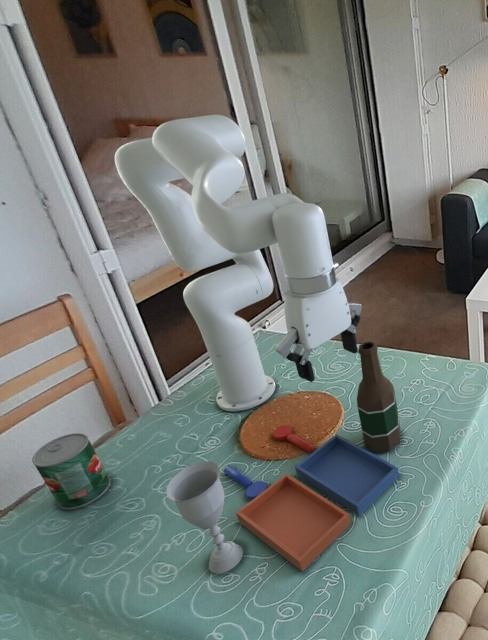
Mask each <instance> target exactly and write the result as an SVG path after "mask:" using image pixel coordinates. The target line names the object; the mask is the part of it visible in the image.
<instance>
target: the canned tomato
mask: <svg viewBox="0 0 488 640" xmlns="http://www.w3.org/2000/svg"><path fill="white" fill-rule="evenodd" d="M31 462H32V464H33V465H34V466H35V468H36V471H38V473H39V475H40V477H41V478H42V480H43V481H44V484H45V485H46V487H47V488H48V490H49V491H50V493H51V494H52V496H53V498H54V499H55V501H56V502H57V504H58V505H57V506H59V508H61V509H63V510H76V509H80V508H83V507H85V506H88V505H90V504H92V503H93V502H96V501H97V500H98V499H99V498H101V497H102V496H103V495H104V494H105V493H106V492H107V491H108V489H109V488H110V486H111V478H110V476H109V475H108V473H107V471H106V470H105V467H104V465H103V464H102V462H101V460H100V458H99V456H98V455H97V453H96V451H95V448H94V446H93V445H92V443H91V441H90V439H89V436H88V435H87V434H85V433H82V432H81V433H80V432H75V433H68V434H64V435H61V436H59V437H57V438H54V439H52V440H50V441H48V442H46V443H45V444H44V445H42V446H41V447H40V448H39V449H37V450H36V451H35V453H34V454H33V455H32V459H31Z"/></svg>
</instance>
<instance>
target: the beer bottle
mask: <svg viewBox="0 0 488 640" xmlns="http://www.w3.org/2000/svg"><path fill="white" fill-rule="evenodd" d="M378 347H379V346H378V345H377V343H376V342H374V341H364V342H362V343H361V344H359V346H358V352H357V353H358V355H359V357H360V365H361V374H362V375H361V376H362V379H361V381H360V382H359V384H358V389H357V395H356V406H357V411H358V416H359V422H360V426H361V433H362V437H363V441H364V445H365V448H367V449H368V450H370V451H372V452H373V453H375V454H380V453H386V452H390V451H392V450H393V449H394V448H396V446H398V445H399V444H400V443H401V424H400V418H399V411H398V410H399V409H398V405H397V404H398V403H397V398H396V391H395V387H394V385H393V383H392V382H391V380H390V379H389V378H387V377H386V376H385V375H384V373H383V370H382V367H381V362H380V358H379V354H378V349H379V348H378Z"/></svg>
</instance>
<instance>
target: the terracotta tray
mask: <svg viewBox="0 0 488 640" xmlns="http://www.w3.org/2000/svg"><path fill="white" fill-rule="evenodd" d="M267 487H268V488H267V489H266V490H265V491H263V492H262V493H261V494H259V495H258V496H257V497H256V498H254V499H253V500H249V502H247V504H245V505H244V506H243V507H242V508H240V509H238V510H237V511H236V512H235V515H236V517H237V520H238V523H239V524H240V525H242V526H244V527H245V528H246V529H247V530H249V532H251V533H252V534H253V535H255V536H256V537H257V538H259V539H260V540H261V541H262V542H264V543H265V544H266V545H268V546H269V547H270V548H271V549H273V550H274V551H275V552H277V553H278V554H279V555H280V556H282V557H283V558H285V559H286V560H287V561H288V562H289V563H291V564H292V565H293V566H295V567H296V568H297V569H299V570H300V571H301V572H304V571H305V570H307V568H308V567H309V566H310V565H311V564H312V563H313V562H314V561H315V560H316V559H318V557H319V556H320V555H321V554H322V553H323V552H324V551H326V549H327V548H328V547H330V545H331V544H332V543H333V542H334V541H336V539H337V538H338V537H339V536H341V534H342V533H344V532H345V531H346V530H347V528H349V527H350V526H351V525H352V520H351V515H350V513H348V512H347V511H345V510H344V509H343V508H341V507H339V506H338V505H336V504H335V503H333V502H332V501H330V500H328V499H327V498H325V497H324V496H323V495H321V494H319V493H317V492H316V491H315V490H313V489H312V488H310V487H309V486H307V485H305V484H304V483H302V482H300V481H299V480H298V479H296V478H295V477H293V476H292V475H290V474H289V473H285V474H284V475H282V476H281V477H280V478H278V479H277V480H276V481H275V482H273V483H272V484H271V485H270V486H267Z"/></svg>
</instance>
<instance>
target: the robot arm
mask: <svg viewBox="0 0 488 640" xmlns="http://www.w3.org/2000/svg"><path fill="white" fill-rule="evenodd" d="M246 145H247V144H246V138H245V135H244V133H243V131H242V129H241V128H240V126H239V125H238V124H237V123H236V122H235V121H234V120H232V119H231V118H230V117H228V116H225V115H223V114H208V115H200V116H192V117H185V118H176V119H171V120H168V121H165V122H164V123H161V124H160V125H159V126H158V127H156V129H154V131H153V133H152V137H148V138H142V139H137V140H133V141H130V142H128V143H125V144H123V145H120V147H119V148H117V149H116V151H115V154H114V163H115V167H116V170H117V173H118V176H119V177H120V179H121V181H122V183H123V184H124V185H125V187H126V188H127V189H128V190H129V192H130V193H131V194H132V195H133V196H134V197H135V198H136V199H137V201H139V203H141V205H142V206H143V207H144V208H145V210H146V211H147V212H148V214H149V215H150V217H151V219H152V221H153V223H154V225H155V227H156V229H157V231H158V233H159V235H160V237H161V240H162V241H163V243H164V245H165V247H166V249H167V251H168V253H169V255H170V256H171V258H172V261H173V262H174V263H175V265H176V266H177V268H178V269H180V270H181V271H184V272H196V271H200V270H203V269H207V268H209V267H212V266H215V265H218V264H221V263H225V262H227V261H230V260H233V261H234V262H235V264H232V265H230V266H226V267H223V268H220V269H218V270H215V271H213V272H210V273H207V274H203V275H201V276H199V277H197V278H195V279H193V280H192V281H190V282H189V283H188V284H187V285H186V286H185V288H184V289H183V292H182V294H183V295H182V297H183V301H184V304H185V306H186V307H187V309H188V311H189V312H190V315H191V316H192V318H193V319H194V321H195V323H196V325H197V327H198V329H199V331H200V334H201V337H202V340H203V342H204V345H205V348H206V351H207V355H208V356H209V359H210V363H211V365H212V368H213V371H214V374H215V377H216V380H217V382H218V385H219V389H220V390H219V391H218V392H217V395H216V397H215V401H216V403H217V407H219V409H221V410H223V411H226V412H241V411H242V412H243V411H247V410H250V409H253V408H255V407H257V406H260V405H261V404H264V402H266V401H267V400H269V398H271V396H273V394H274V392H275V390H276V382H275V380H274V378H272V376H269V375H266V373H265V371H264V367H263V363H262V360H261V357H260V353H259V350H258V346H257V343H256V339H255V335H254V332H253V329H252V327H251V325H250V324H249V322H248V321H247V320H246V319H244V318H242V317H241V316H238V315H236V312H238V311H241V310H243V309H244V308H247V307H249V306H251V305H254V304H256V303H258V302H260V301H262V300H265V299H266V298H268V297H269V296H271V294H272V293H273V291H274V279H273V278H272V277H273V276H272V275H271V272H270V270H269V267H268V265H267V263H266V261H265V258H264V257H263V253H262V252H261V249H264V248H268V247H270V246H272V245H276V244H277V246H278V251H279V255H280V258H281V264H282V267H283V272H284V276H285V280H286V284H287V288H288V290H287V291H285V292H284V300H283V304H284V305H283V308H284V309H283V310H284V317H285V318H284V319H285V325H286V330H287V333H286V335H285V336H284V337H283V338H282V339H281V340H280V342H279V343H278V344H277V346H275V351H276V352H277V353H278V354H279V355H280V356H282V358H283V359H285V360H287V361H290V362H293V363H295V368H296V371H297V374H298V377H299V378H301V379H303V380H306V381H307V382H310V383H313V382H314V381H315V380H316V377H315V374H314V369H313V364H312V362H311V360H309V358H310V355H311V352H312V350H313V349H316V348H318V347H319V346H322V345H323V344H324V343H327V342H328V341H329V340H331V339H333V338H335V337H336V336H338V335H340V338H341V343H342V348H343V350H344V351H347V352H349V353H352V354H357V353H358V351H359V348H358V342H357V336H356V334H357V332H358V325H359V323H360V321H361V316H360V315H362V310H363V305H362V304H361V303H358V302H348V298H347V295H346V293H345V290H344V288H343V285H342V283H341V281H340V279H339V278H338V277H337V275H336V270H337V269H339V268H340V266H339V263H338V262H337V261H334V260H333V255H332V249H331V245H330V239H329V234H328V228H327V222H326V217H325V213H324V211H323V209H322V208H321V207H320V206H319V205H317V204H315V203H311V202H305V201H304V200H302V199H301V198H299V197H298V196H297V195H294V194H293V193H288V192H283V193H276V194H273V195H269V196H265V197H262V198H257V199H254V200H250V201H246V202H241V203H239V204H235V205H232V206H229V207H227V206H224V205H223V203H225V202H226V201H227V200H228V199H229V198H230V197H232V196H233V195H234V194H235V193H236V192H237V191H238V190H240V188H241V186H242V185H243V182H244V179H245V175H246V174H245V167H244V164H243V162H242V161H241V160H240V158H241V157H242V156H243V155H244V153H245V151H246ZM183 179H185V181H187V182H188V183H189V184H190V185H191V186H192V189H191V194H190V193H189V192H187V191H185V190H184V189H182V188H180V187H179V186H177V185H175V184H173V183H171V182H173V181H179V180H183ZM293 345H294V347H293V350H292V351H291V347H292V346H293Z"/></svg>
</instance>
